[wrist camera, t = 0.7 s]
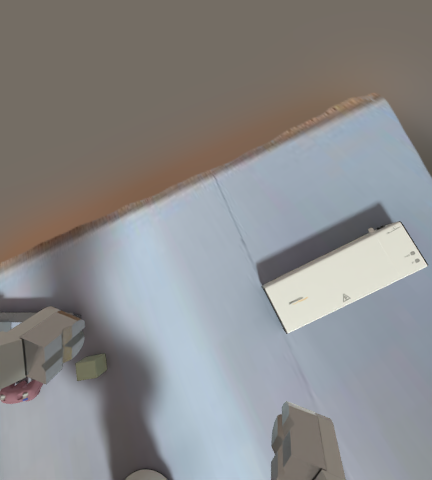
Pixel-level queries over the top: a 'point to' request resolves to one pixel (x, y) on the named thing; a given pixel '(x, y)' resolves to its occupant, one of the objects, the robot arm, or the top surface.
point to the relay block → (91, 367)
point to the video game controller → (20, 392)
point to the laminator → (344, 276)
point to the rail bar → (21, 316)
